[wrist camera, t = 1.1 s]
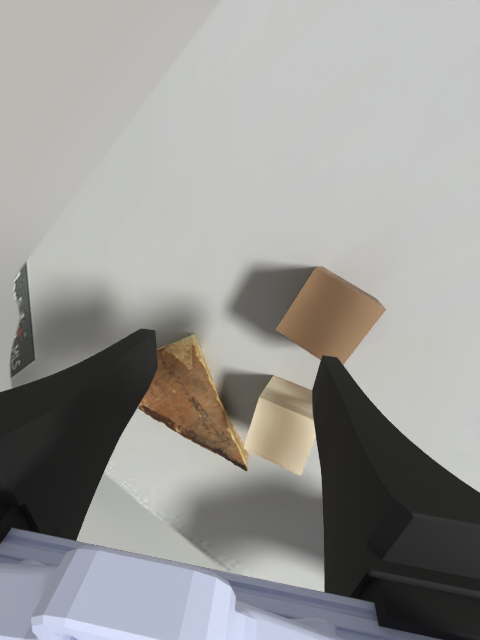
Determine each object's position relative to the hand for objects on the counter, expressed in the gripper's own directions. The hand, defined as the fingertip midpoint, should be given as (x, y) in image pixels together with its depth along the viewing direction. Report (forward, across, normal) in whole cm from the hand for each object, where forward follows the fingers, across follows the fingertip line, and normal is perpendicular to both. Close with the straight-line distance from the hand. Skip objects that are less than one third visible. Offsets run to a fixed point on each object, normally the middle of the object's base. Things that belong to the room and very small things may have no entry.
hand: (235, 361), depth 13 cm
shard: (+11, +4, +12) cm, 17 cm away
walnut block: (+11, -6, +2) cm, 12 cm away
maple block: (+8, -4, +11) cm, 14 cm away
